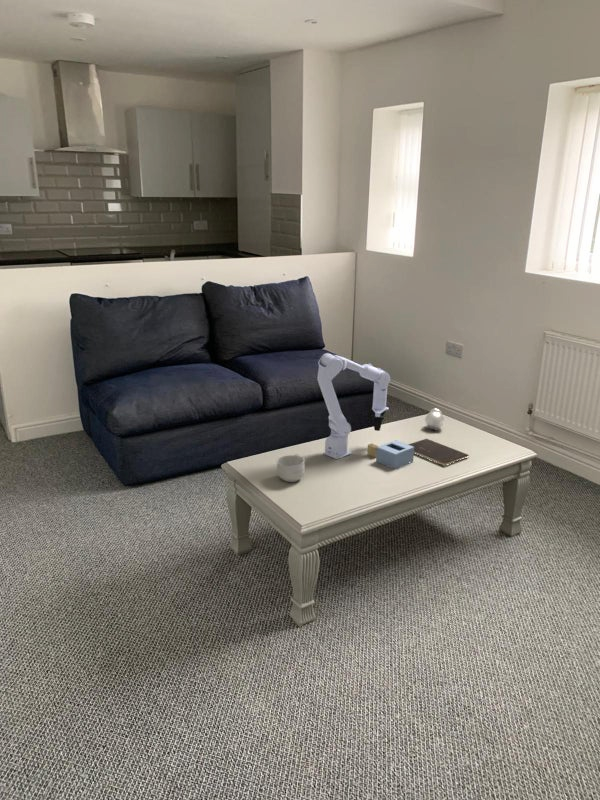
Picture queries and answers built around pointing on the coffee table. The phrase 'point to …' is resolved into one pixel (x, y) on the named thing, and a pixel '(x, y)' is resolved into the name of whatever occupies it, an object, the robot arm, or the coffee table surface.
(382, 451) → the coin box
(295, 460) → the teacup
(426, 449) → the hardcover book
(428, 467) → the coffee table surface
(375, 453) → the tan wooden block
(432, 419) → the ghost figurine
